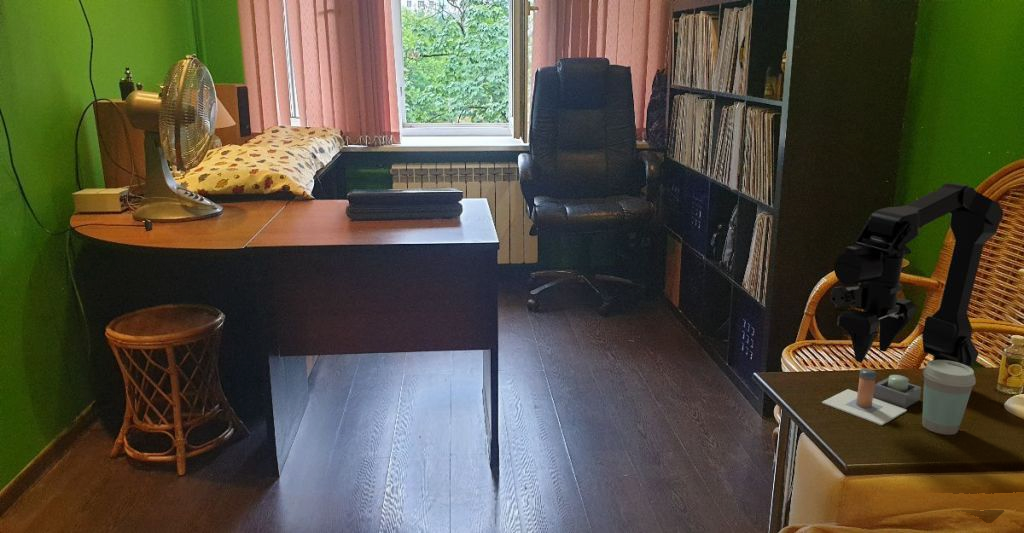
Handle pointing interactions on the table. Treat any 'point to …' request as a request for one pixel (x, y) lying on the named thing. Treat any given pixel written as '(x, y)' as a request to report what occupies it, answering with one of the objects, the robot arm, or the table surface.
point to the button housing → (896, 394)
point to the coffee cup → (945, 395)
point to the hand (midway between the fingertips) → (871, 356)
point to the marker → (866, 388)
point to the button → (898, 383)
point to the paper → (876, 413)
